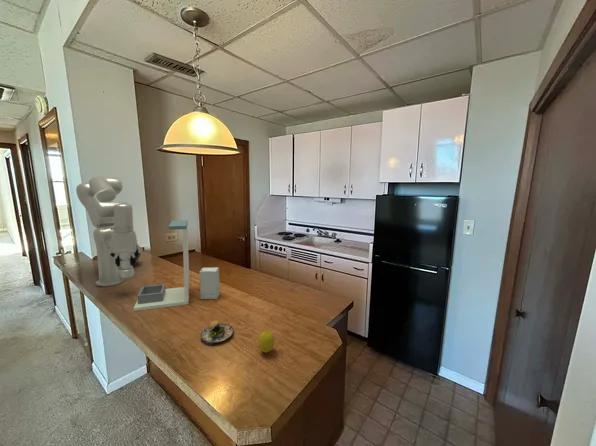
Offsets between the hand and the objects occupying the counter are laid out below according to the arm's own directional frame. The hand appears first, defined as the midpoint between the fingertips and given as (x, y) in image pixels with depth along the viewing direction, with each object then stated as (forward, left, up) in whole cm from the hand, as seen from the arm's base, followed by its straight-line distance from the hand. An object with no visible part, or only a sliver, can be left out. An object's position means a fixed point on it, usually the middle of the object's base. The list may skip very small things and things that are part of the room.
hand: (125, 264), depth 123 cm
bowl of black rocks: (-48, -13, -16) cm, 52 cm away
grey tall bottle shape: (0, 0, -7) cm, 7 cm away
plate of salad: (+50, +39, -16) cm, 65 cm away
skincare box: (+15, +38, -16) cm, 44 cm away
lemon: (+65, +54, -16) cm, 86 cm away
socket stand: (+11, +17, -15) cm, 26 cm away
